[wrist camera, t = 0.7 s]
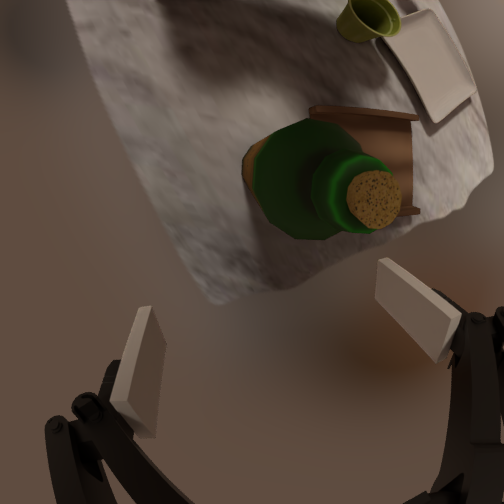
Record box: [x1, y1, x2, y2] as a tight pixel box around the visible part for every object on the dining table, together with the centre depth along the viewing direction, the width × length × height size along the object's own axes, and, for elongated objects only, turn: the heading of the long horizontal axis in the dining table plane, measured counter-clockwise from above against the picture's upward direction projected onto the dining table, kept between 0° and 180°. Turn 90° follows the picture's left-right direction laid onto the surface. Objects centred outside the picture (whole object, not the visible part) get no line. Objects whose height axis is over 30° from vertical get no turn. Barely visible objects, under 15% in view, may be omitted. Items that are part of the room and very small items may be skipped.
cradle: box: [309, 105, 420, 217], centre depth 40 cm, size 18×20×3 cm
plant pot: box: [336, 0, 401, 43], centre depth 28 cm, size 9×9×9 cm
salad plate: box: [381, 8, 477, 124], centre depth 34 cm, size 21×21×3 cm
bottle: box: [241, 118, 402, 240], centre depth 26 cm, size 11×11×28 cm
